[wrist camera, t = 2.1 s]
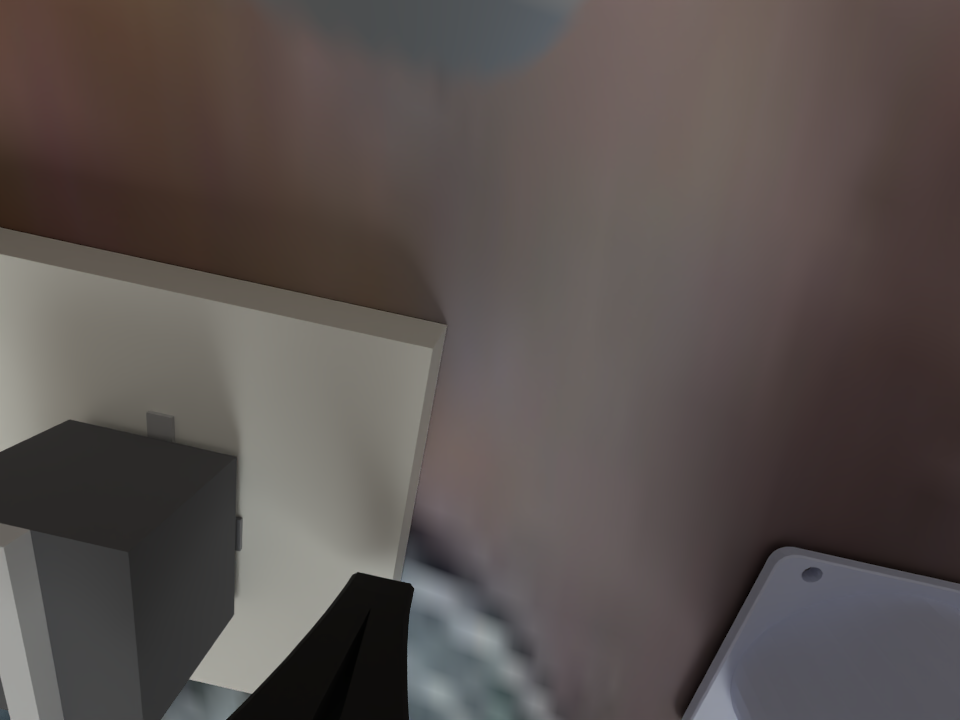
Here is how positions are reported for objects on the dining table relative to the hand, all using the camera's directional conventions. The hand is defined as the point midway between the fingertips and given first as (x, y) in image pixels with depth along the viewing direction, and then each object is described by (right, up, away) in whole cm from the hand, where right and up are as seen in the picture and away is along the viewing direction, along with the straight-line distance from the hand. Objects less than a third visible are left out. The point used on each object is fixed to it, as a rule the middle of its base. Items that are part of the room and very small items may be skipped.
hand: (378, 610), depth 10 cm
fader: (-6, +2, +1) cm, 6 cm away
